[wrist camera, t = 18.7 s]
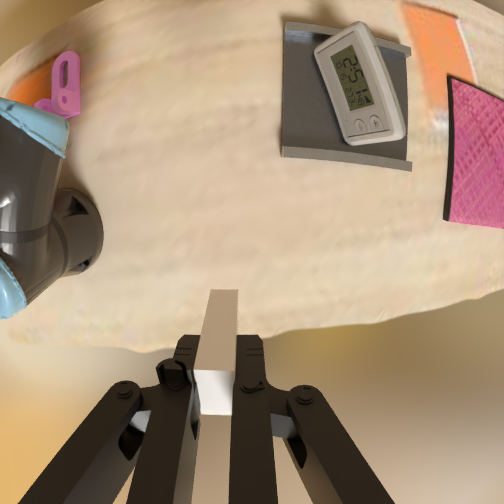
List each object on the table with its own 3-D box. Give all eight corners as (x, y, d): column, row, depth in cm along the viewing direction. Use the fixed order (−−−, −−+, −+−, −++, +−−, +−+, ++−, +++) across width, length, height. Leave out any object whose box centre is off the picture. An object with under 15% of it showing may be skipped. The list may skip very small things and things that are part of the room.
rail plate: (281, 156, 40) (283, 157, 37) (284, 28, 33) (286, 21, 30) (402, 170, 40) (411, 171, 37) (402, 52, 33) (410, 47, 31)
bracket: (81, 113, 37) (58, 109, 30) (57, 123, 37) (32, 121, 30) (80, 48, 32) (59, 37, 26) (56, 59, 33) (34, 51, 26)
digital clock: (310, 45, 33) (328, 15, 23) (365, 47, 33) (395, 24, 23) (325, 146, 38) (349, 145, 28) (380, 145, 38) (416, 145, 28)
